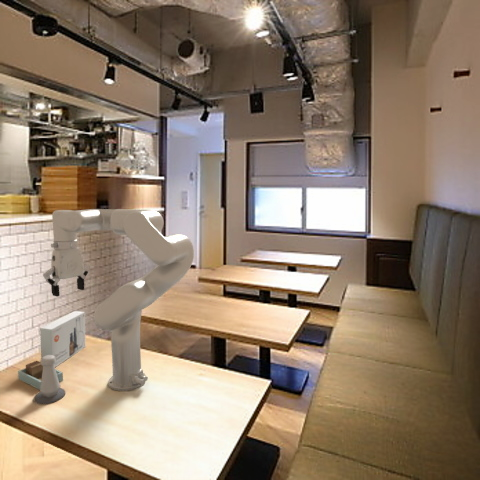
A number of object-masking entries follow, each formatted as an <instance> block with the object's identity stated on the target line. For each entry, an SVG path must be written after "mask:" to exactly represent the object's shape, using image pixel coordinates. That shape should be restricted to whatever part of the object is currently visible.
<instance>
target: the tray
mask: <svg viewBox="0 0 480 480" xmlns="http://www.w3.org/2000/svg"><path fill="white" fill-rule="evenodd" d="M55 370H56V373H57V377H58V380H59V383H60V382H62V381H64V375H63V374H64V373H63V372H62V371H60V370H58V369H56V368H55ZM17 374H18V376H17V377H18V380H19V381H21V382H23V383H26V384H28V385H30V386H31V387H34V389H35V388H36V389H37V390H39V391H40V386H41V380H40V379H36V378H34V377H32V376H30V375H28V374H26V367H25V368H23V369H20V370H18V371H17Z"/></svg>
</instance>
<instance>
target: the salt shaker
mask: <svg viewBox="0 0 480 480" xmlns="http://www.w3.org/2000/svg"><path fill="white" fill-rule="evenodd" d="M40 362H41V365H42V366H43V372H42V377H41V378H40V379H41V386H40V390H39V392H40V391H41V393H42V395H43V397H46V398H50V397H54V396H55V395H56V394H57V393H58V391H59V388H61V384H60V382H59V380H58V377H57V373H56V370H57V369H56V367H55V366H54V363H55V362H56V359H55V356H53V355H47V356H44V357H43V358H42V359H41V358H40ZM55 369H56V370H55Z"/></svg>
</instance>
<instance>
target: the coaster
mask: <svg viewBox="0 0 480 480" xmlns="http://www.w3.org/2000/svg"><path fill="white" fill-rule="evenodd" d="M65 395H66V390H65V389H64V388H62V387H60V388H59V391H58V393H57V394H56V395H55V396H54V397H50V398H46V397H43V395H42V393H41V391H40V390H39V392H37V393H36V394H35V395H34V397H33V400H34V402H35V403H36V404H38V405H48V404H54V403H56V402H58V401H60V400H61V399H63V398H64V397H65Z"/></svg>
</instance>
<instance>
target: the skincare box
mask: <svg viewBox="0 0 480 480" xmlns="http://www.w3.org/2000/svg"><path fill="white" fill-rule="evenodd" d="M39 331H40V333H39V334H40V336H39V337H40V360H41V359H42V358H43V357H44V356H47V355H53V356H55V359H56V362H55V363H54V366H55V368H56V367H58V366H59V365H61V364H62V363H64V362H65V361H67V360H68V359H69V358H72V357H73V356H75V355H76V354H77V353H79V352H80V351H81V350H83V349H85V348H86V312H85V311H80V310H74V311H72V312H70V313H67V314H65V315H63V316H62V317H60V318H57V319H56V320H53V321H52V322H49V323H48V324H45V325H44V326H41V327H40V328H39Z"/></svg>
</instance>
